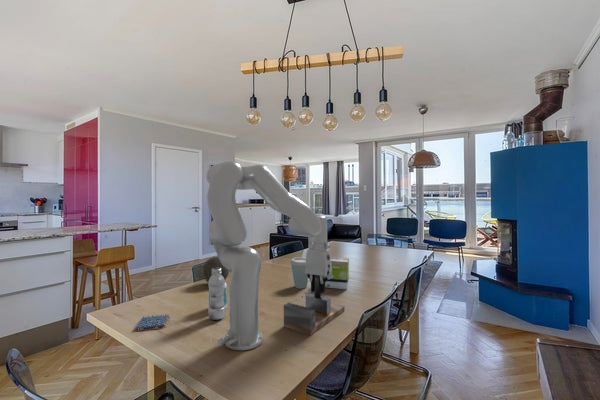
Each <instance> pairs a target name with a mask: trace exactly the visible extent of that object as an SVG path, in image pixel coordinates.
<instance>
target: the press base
mask: <svg viewBox="0 0 600 400" xmlns="http://www.w3.org/2000/svg"><path fill="white" fill-rule="evenodd" d="M344 312H345V306H344V305H341V304H337V303H333V302H331V313H329V314H328V315H325V314H321V313H317V312H315V309H311V308H307V307H306V306H303V305H299V304H295V303H291V302H287V303H284V304H283V327H285V328H287V329H291V330H294V331H296V332H299V333H303V334H306V335H308V336H312V335H313V334H315V333H316V332H318V331H319V330H321V329H322V328H323V327H325V326H326V325H327V324H328V323H330V322H332V321H333V320H334V319H336V318H337V317H338V316H339V315H341V314H342V313H344Z"/></svg>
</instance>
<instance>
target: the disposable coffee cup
mask: <svg viewBox="0 0 600 400" xmlns="http://www.w3.org/2000/svg"><path fill="white" fill-rule="evenodd" d="M305 263H306V257H293V258H291V261H290V265H291V270H292V271H291V272H292V277H293V283H294V284H293V285H294V286H295V287H294V288H295V289H306V288H307V287H308V283H309V278H308V277H307V275H305V274H304V270H305Z"/></svg>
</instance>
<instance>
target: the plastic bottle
mask: <svg viewBox="0 0 600 400" xmlns="http://www.w3.org/2000/svg"><path fill="white" fill-rule="evenodd" d="M221 273H222V271H221V268H219V267H216V268H212V276H211V277H210V279H209V282H207V283H208V294H209V293H210V303H209V302H208V310H207V314H208V319H210V320H212V321H218V320H222V319H223V318H224V317H225V314H226V309H225V307H224V286H225V283H226V280H225V279H224V278H223V276H222V275H221Z"/></svg>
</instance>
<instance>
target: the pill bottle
mask: <svg viewBox="0 0 600 400" xmlns="http://www.w3.org/2000/svg"><path fill="white" fill-rule="evenodd" d="M223 278H224V277H223ZM227 284H228V283H226V282H225V286H224V307H225V310H226V309H227V307H228V301H227V299H228V285H227ZM209 303H210V293H209V292H208V304H209Z"/></svg>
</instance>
